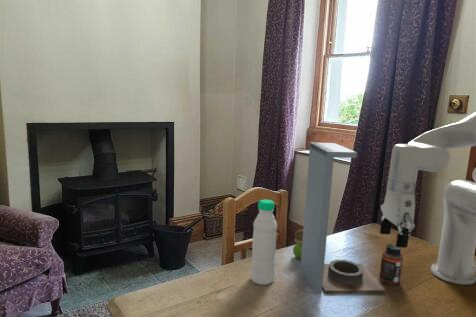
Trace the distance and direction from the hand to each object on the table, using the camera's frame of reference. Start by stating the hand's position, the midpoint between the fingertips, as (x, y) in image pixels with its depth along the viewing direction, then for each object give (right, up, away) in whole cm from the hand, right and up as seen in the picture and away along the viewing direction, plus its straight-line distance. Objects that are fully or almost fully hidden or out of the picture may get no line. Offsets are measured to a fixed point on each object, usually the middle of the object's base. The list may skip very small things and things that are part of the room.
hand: (392, 240), depth 107 cm
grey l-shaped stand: (-22, -13, +2) cm, 25 cm away
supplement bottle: (0, -13, +3) cm, 14 cm away
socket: (-14, -13, +2) cm, 19 cm away
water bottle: (-40, -12, 0) cm, 42 cm away
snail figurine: (-25, -10, +15) cm, 31 cm away
